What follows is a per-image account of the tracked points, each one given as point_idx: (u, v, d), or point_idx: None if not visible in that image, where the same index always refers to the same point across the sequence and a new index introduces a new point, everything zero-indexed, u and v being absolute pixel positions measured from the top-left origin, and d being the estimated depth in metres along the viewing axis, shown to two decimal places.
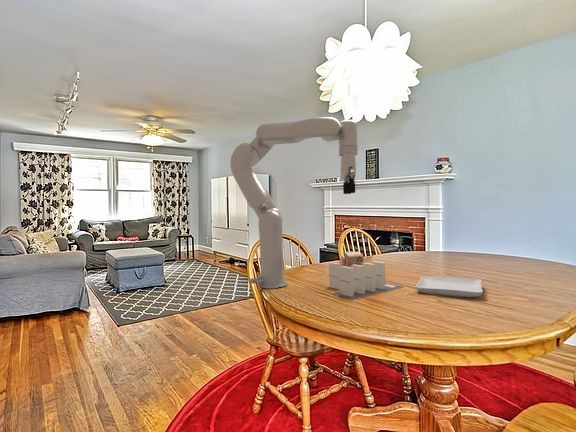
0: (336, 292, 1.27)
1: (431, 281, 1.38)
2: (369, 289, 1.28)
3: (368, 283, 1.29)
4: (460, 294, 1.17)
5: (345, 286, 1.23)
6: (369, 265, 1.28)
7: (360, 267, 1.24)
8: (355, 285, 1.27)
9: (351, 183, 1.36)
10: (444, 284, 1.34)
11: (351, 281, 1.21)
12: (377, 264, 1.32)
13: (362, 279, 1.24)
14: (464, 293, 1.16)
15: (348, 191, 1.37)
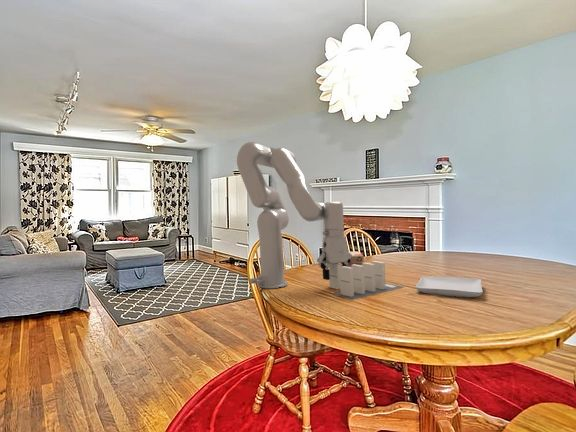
0: (336, 292, 1.27)
1: (431, 281, 1.38)
2: (369, 289, 1.28)
3: (368, 283, 1.29)
4: (460, 294, 1.17)
5: (345, 286, 1.23)
6: (369, 265, 1.28)
7: (360, 267, 1.24)
8: (355, 285, 1.27)
9: None
10: (444, 284, 1.34)
11: (351, 281, 1.21)
12: (377, 264, 1.32)
13: (362, 279, 1.24)
14: (464, 293, 1.16)
15: None
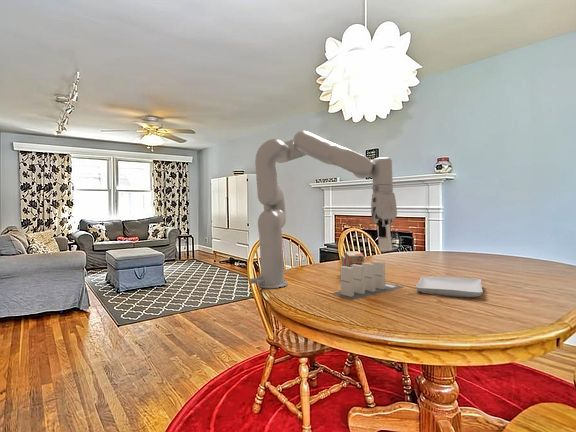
0: (336, 292, 1.27)
1: (431, 281, 1.38)
2: (369, 289, 1.28)
3: (368, 283, 1.29)
4: (460, 294, 1.17)
5: (345, 286, 1.23)
6: (369, 265, 1.28)
7: (360, 267, 1.24)
8: (355, 285, 1.27)
9: None
10: (444, 284, 1.34)
11: (351, 281, 1.21)
12: (377, 264, 1.32)
13: (362, 279, 1.24)
14: (464, 293, 1.16)
15: None
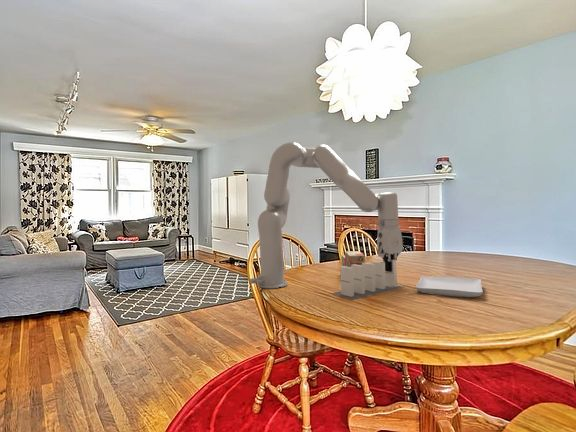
0: (336, 292, 1.27)
1: (431, 281, 1.38)
2: (369, 289, 1.28)
3: (368, 283, 1.29)
4: (460, 294, 1.17)
5: (345, 286, 1.23)
6: (369, 265, 1.28)
7: (360, 267, 1.24)
8: (355, 285, 1.27)
9: None
10: (444, 284, 1.34)
11: (351, 281, 1.21)
12: (377, 264, 1.32)
13: (362, 279, 1.24)
14: (464, 293, 1.16)
15: None
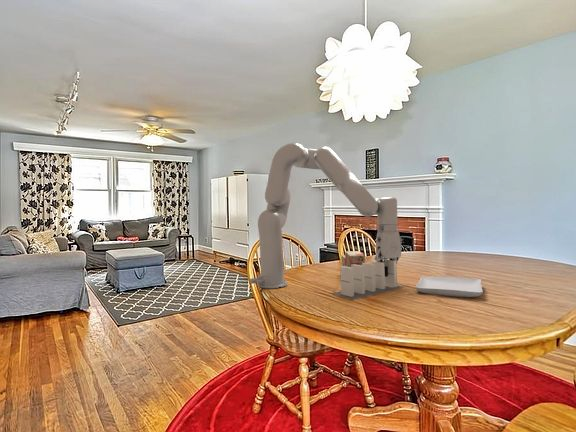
0: (336, 292, 1.27)
1: (431, 281, 1.38)
2: (369, 289, 1.28)
3: (368, 283, 1.29)
4: (460, 294, 1.17)
5: (345, 286, 1.23)
6: (369, 265, 1.28)
7: (360, 267, 1.24)
8: (355, 285, 1.27)
9: None
10: (444, 284, 1.34)
11: (351, 281, 1.21)
12: (376, 264, 1.32)
13: (362, 279, 1.24)
14: (464, 293, 1.16)
15: None
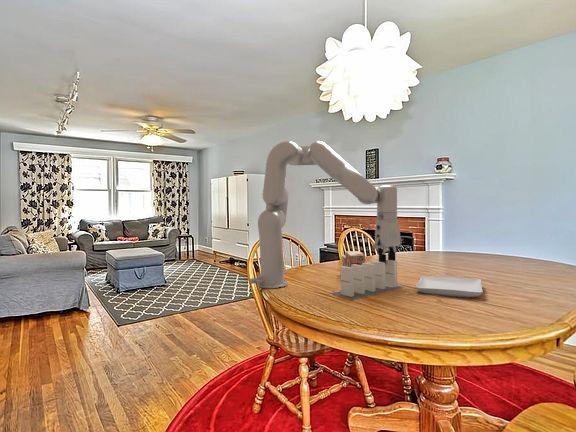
0: (336, 292, 1.27)
1: (431, 281, 1.38)
2: (369, 289, 1.28)
3: (368, 283, 1.29)
4: (460, 294, 1.17)
5: (345, 286, 1.23)
6: (369, 265, 1.28)
7: (360, 267, 1.24)
8: (355, 285, 1.27)
9: None
10: (444, 284, 1.34)
11: (351, 281, 1.21)
12: (377, 264, 1.32)
13: (362, 279, 1.24)
14: (464, 293, 1.16)
15: None
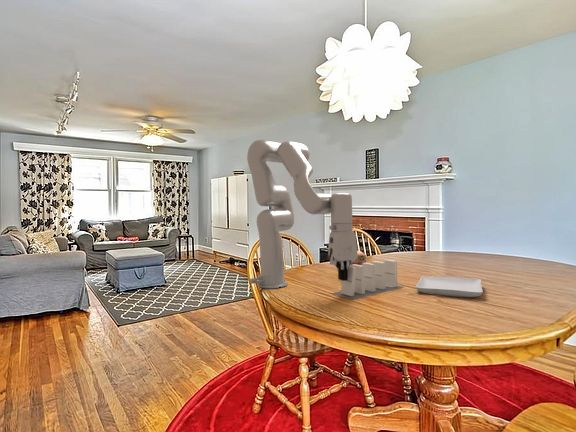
0: (336, 292, 1.27)
1: (431, 281, 1.38)
2: (369, 289, 1.28)
3: (368, 283, 1.29)
4: (460, 294, 1.17)
5: (346, 285, 1.24)
6: (369, 265, 1.28)
7: (360, 267, 1.24)
8: (355, 285, 1.27)
9: None
10: (444, 284, 1.34)
11: (353, 280, 1.22)
12: (377, 264, 1.32)
13: (362, 279, 1.24)
14: (464, 293, 1.16)
15: None
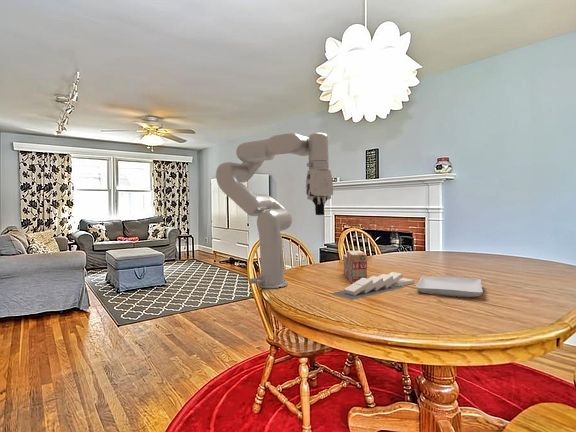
0: (336, 292, 1.27)
1: (431, 281, 1.38)
2: None
3: None
4: (460, 294, 1.17)
5: (354, 286, 1.26)
6: (389, 275, 1.34)
7: (381, 278, 1.30)
8: None
9: None
10: (444, 284, 1.34)
11: (364, 286, 1.25)
12: (395, 273, 1.38)
13: (374, 284, 1.28)
14: (464, 293, 1.16)
15: None
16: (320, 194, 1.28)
